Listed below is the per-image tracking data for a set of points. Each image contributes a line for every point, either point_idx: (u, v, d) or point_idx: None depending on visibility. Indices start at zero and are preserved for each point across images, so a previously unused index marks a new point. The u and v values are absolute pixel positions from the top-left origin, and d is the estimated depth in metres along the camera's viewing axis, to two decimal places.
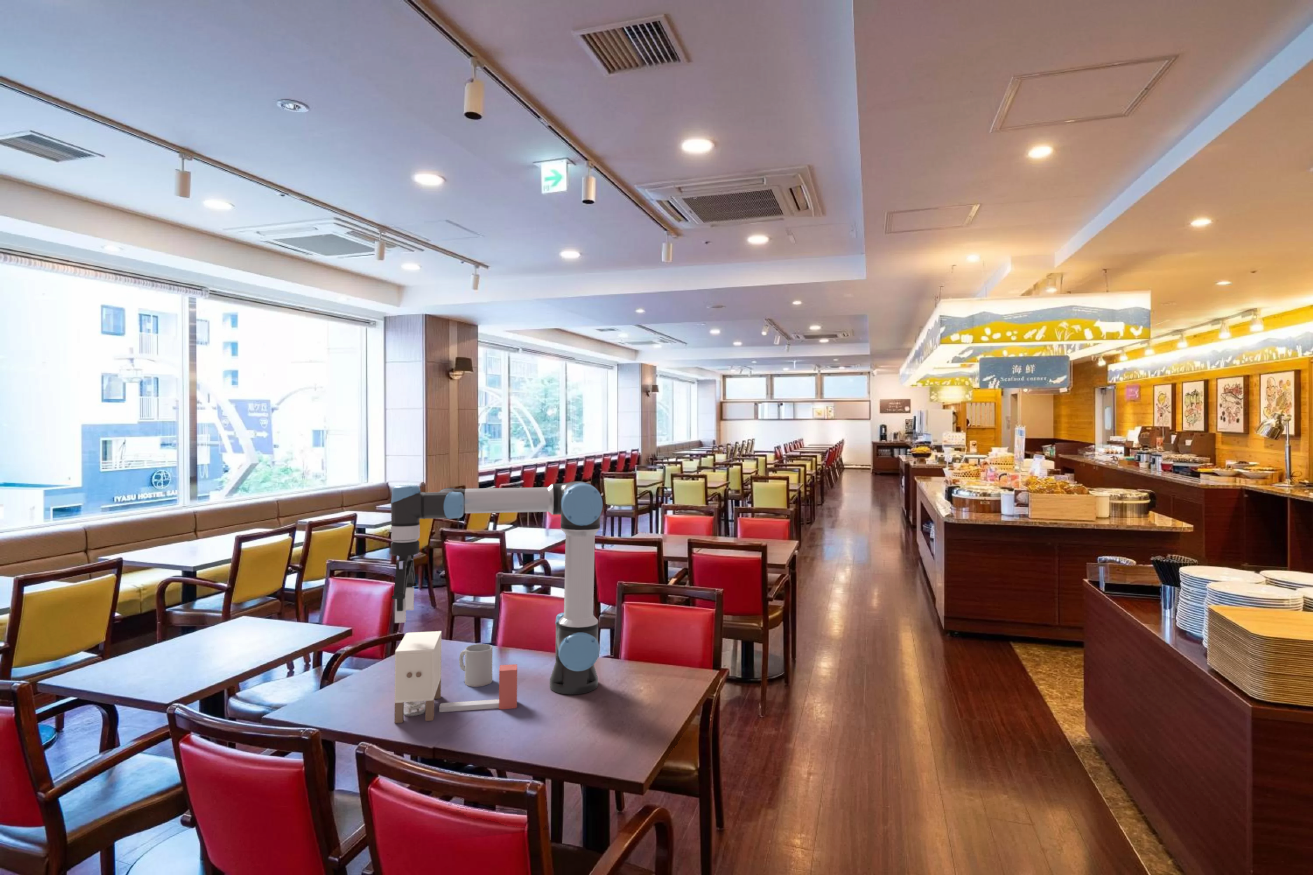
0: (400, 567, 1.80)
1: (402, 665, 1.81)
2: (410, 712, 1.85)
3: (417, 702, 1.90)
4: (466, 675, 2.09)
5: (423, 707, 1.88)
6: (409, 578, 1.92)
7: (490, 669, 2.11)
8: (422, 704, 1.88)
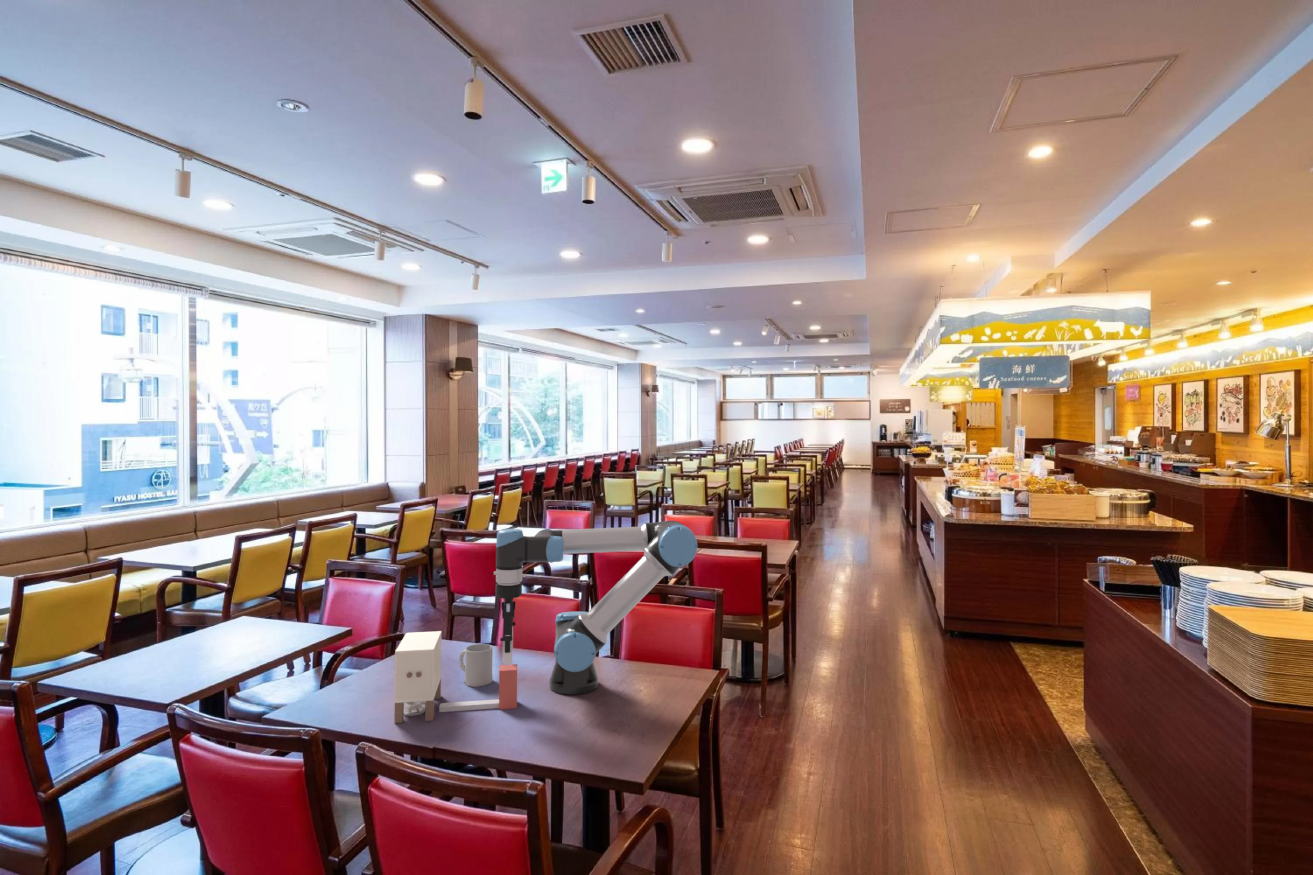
0: (507, 610, 1.87)
1: (402, 665, 1.81)
2: (410, 712, 1.85)
3: (417, 702, 1.90)
4: (466, 675, 2.09)
5: (423, 707, 1.88)
6: None
7: (490, 669, 2.11)
8: (422, 704, 1.88)
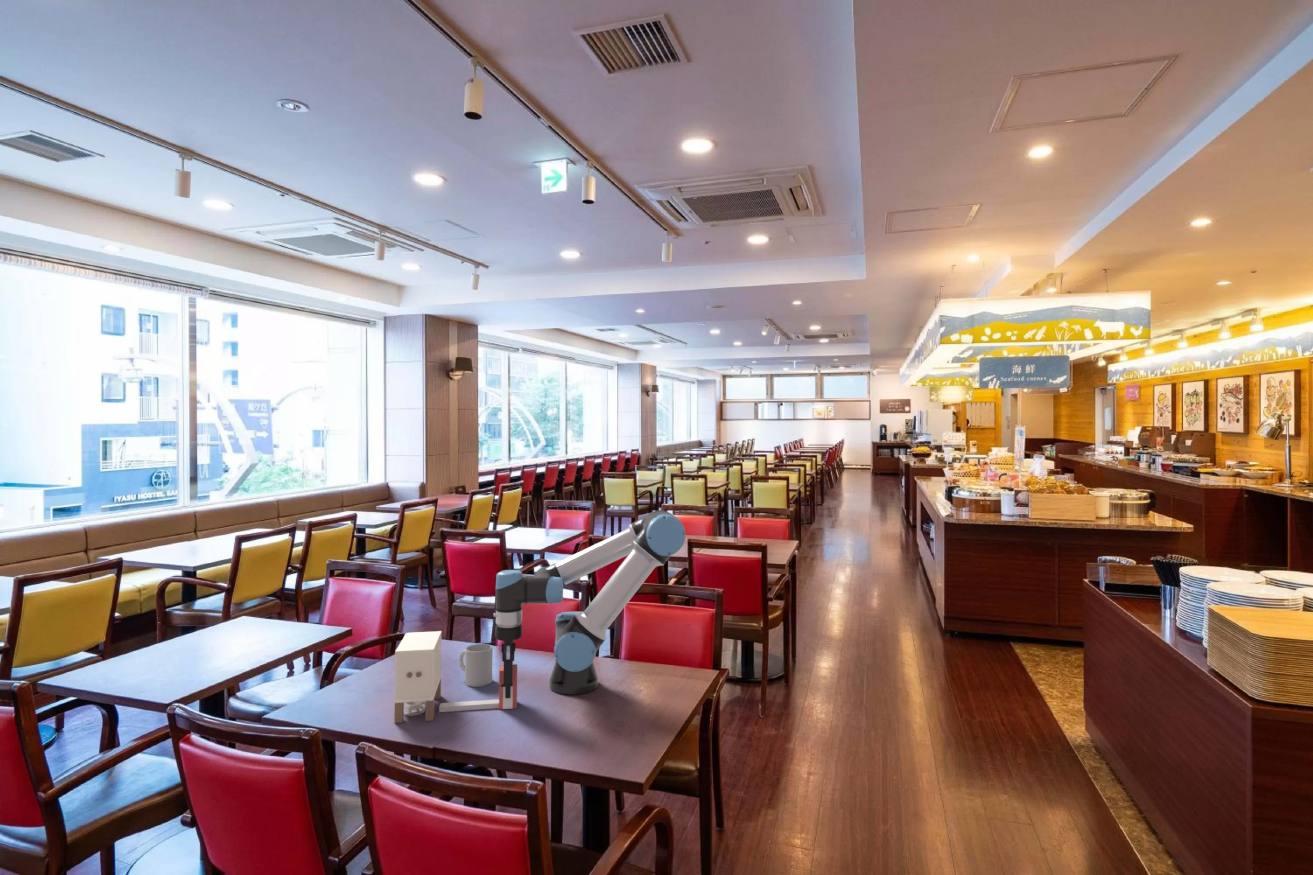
0: (507, 658, 1.88)
1: (402, 665, 1.81)
2: (410, 712, 1.85)
3: (417, 702, 1.90)
4: (466, 675, 2.09)
5: (423, 707, 1.88)
6: None
7: (490, 669, 2.11)
8: (422, 704, 1.88)
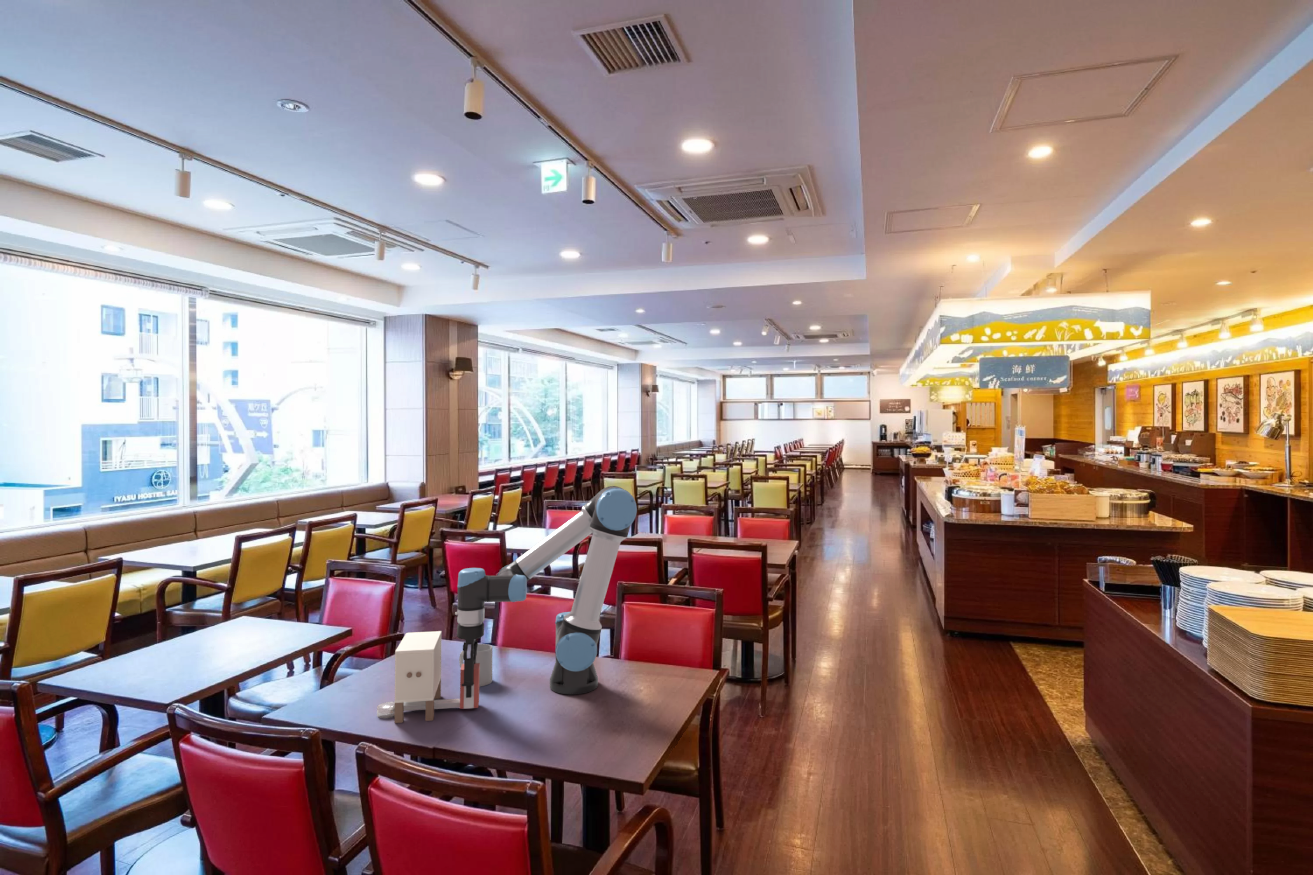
0: (468, 657, 1.85)
1: (402, 665, 1.81)
2: (384, 714, 1.84)
3: (392, 703, 1.88)
4: None
5: None
6: None
7: (490, 669, 2.11)
8: None
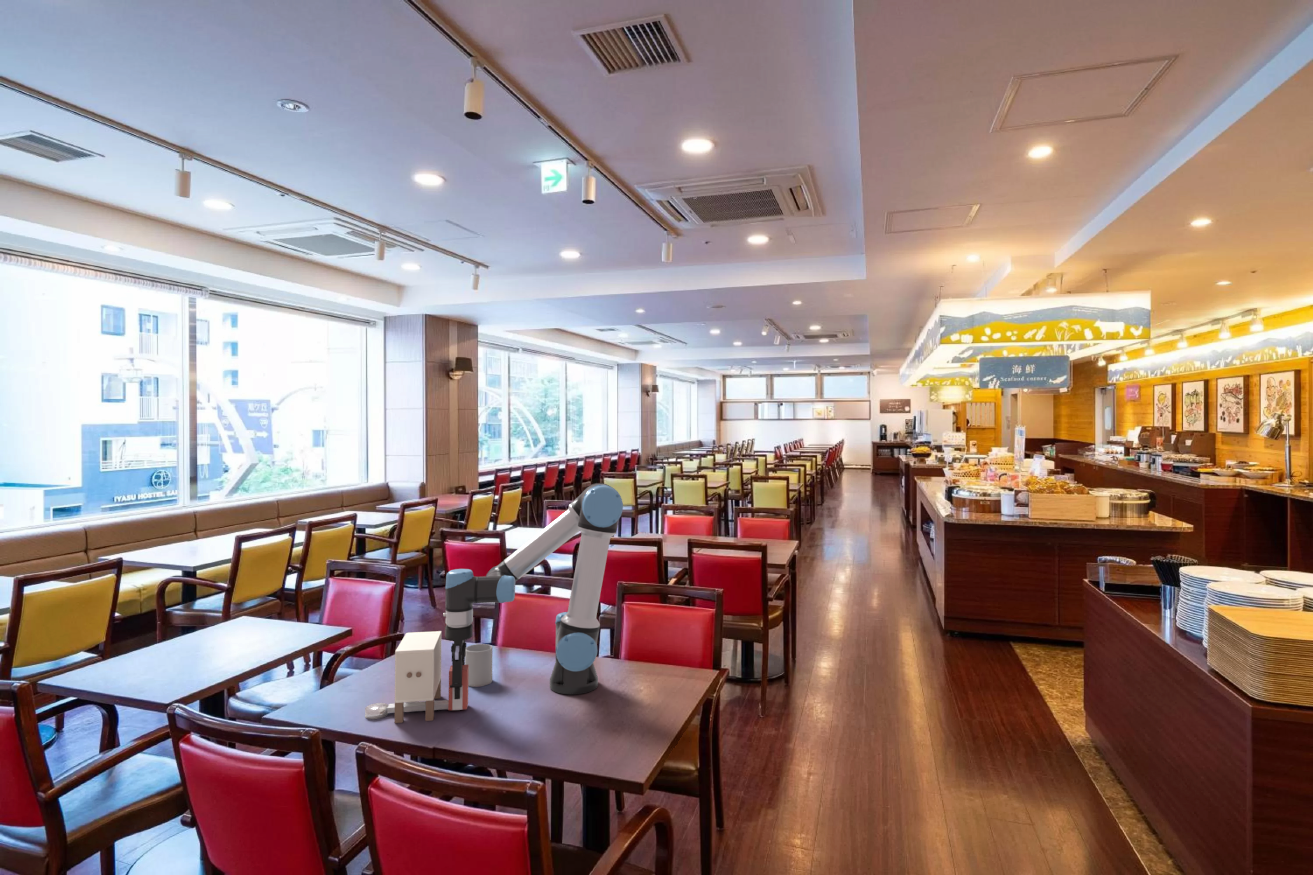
0: (456, 658, 1.85)
1: (402, 665, 1.81)
2: (373, 715, 1.83)
3: (380, 705, 1.88)
4: None
5: (386, 710, 1.86)
6: None
7: (490, 669, 2.11)
8: (384, 707, 1.86)
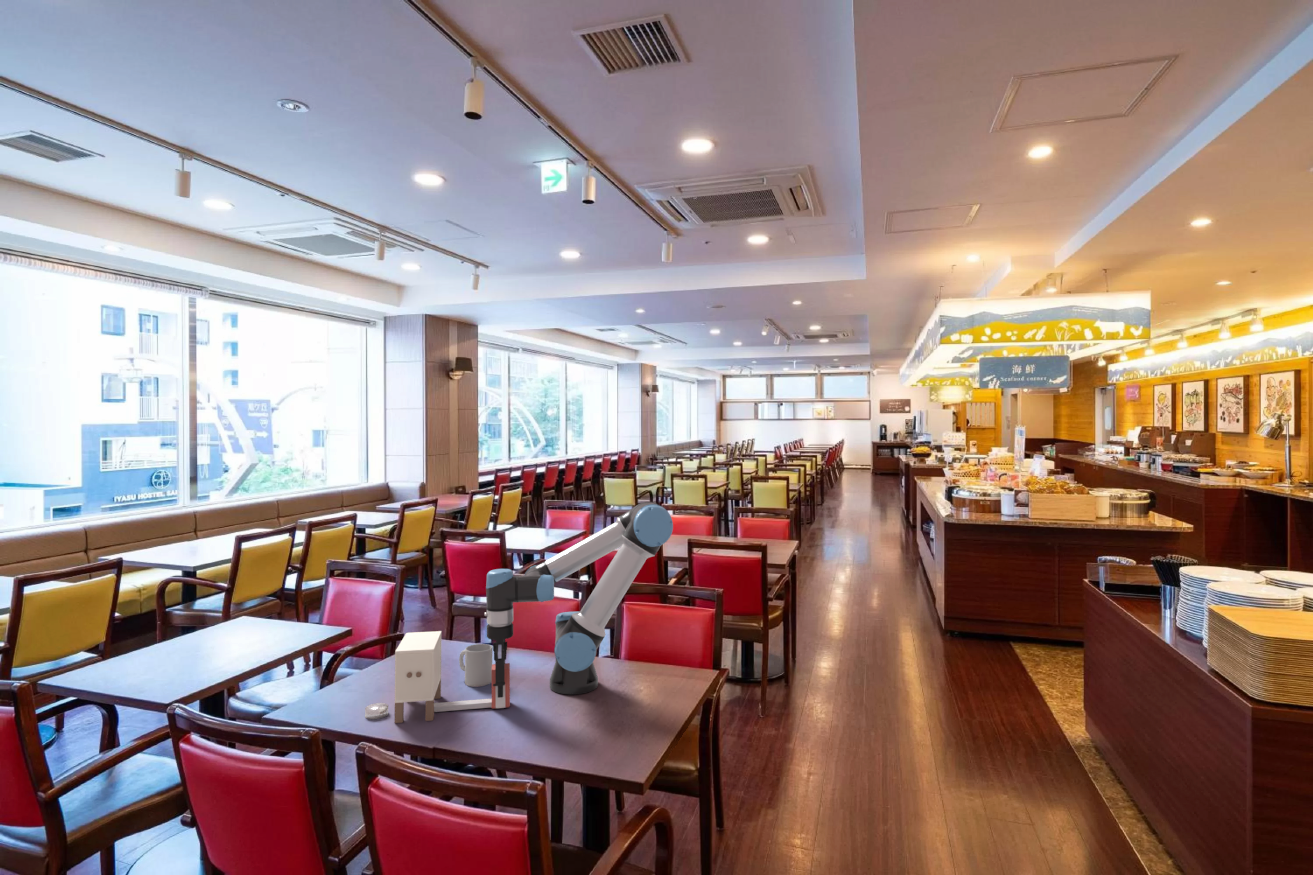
0: (499, 657, 1.87)
1: (402, 665, 1.81)
2: (373, 715, 1.83)
3: (380, 705, 1.88)
4: (466, 675, 2.09)
5: (386, 710, 1.86)
6: None
7: (490, 669, 2.11)
8: (384, 707, 1.86)
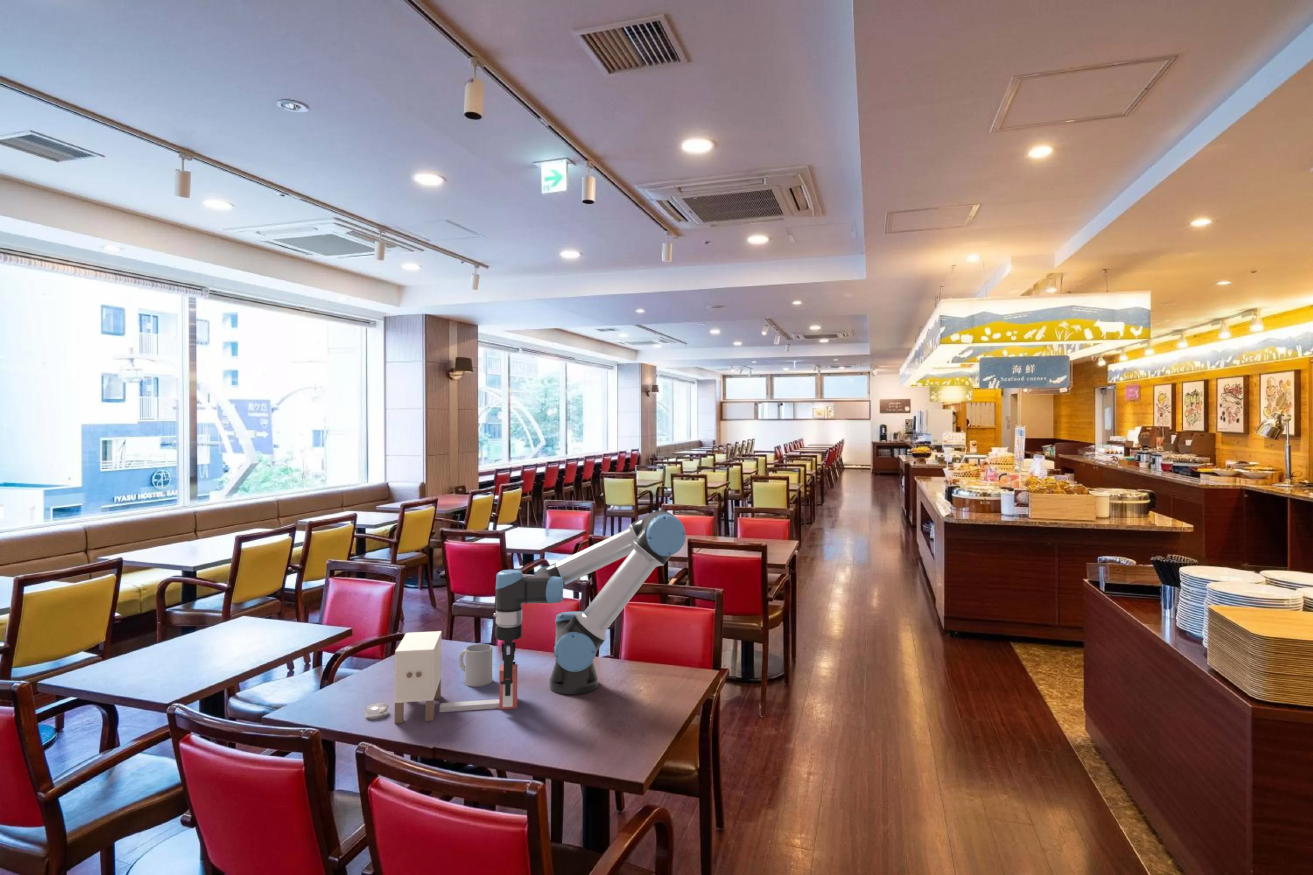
0: (507, 653, 1.87)
1: (402, 665, 1.81)
2: (373, 715, 1.83)
3: (380, 705, 1.88)
4: (466, 675, 2.09)
5: (386, 710, 1.86)
6: None
7: (490, 669, 2.11)
8: (384, 707, 1.86)
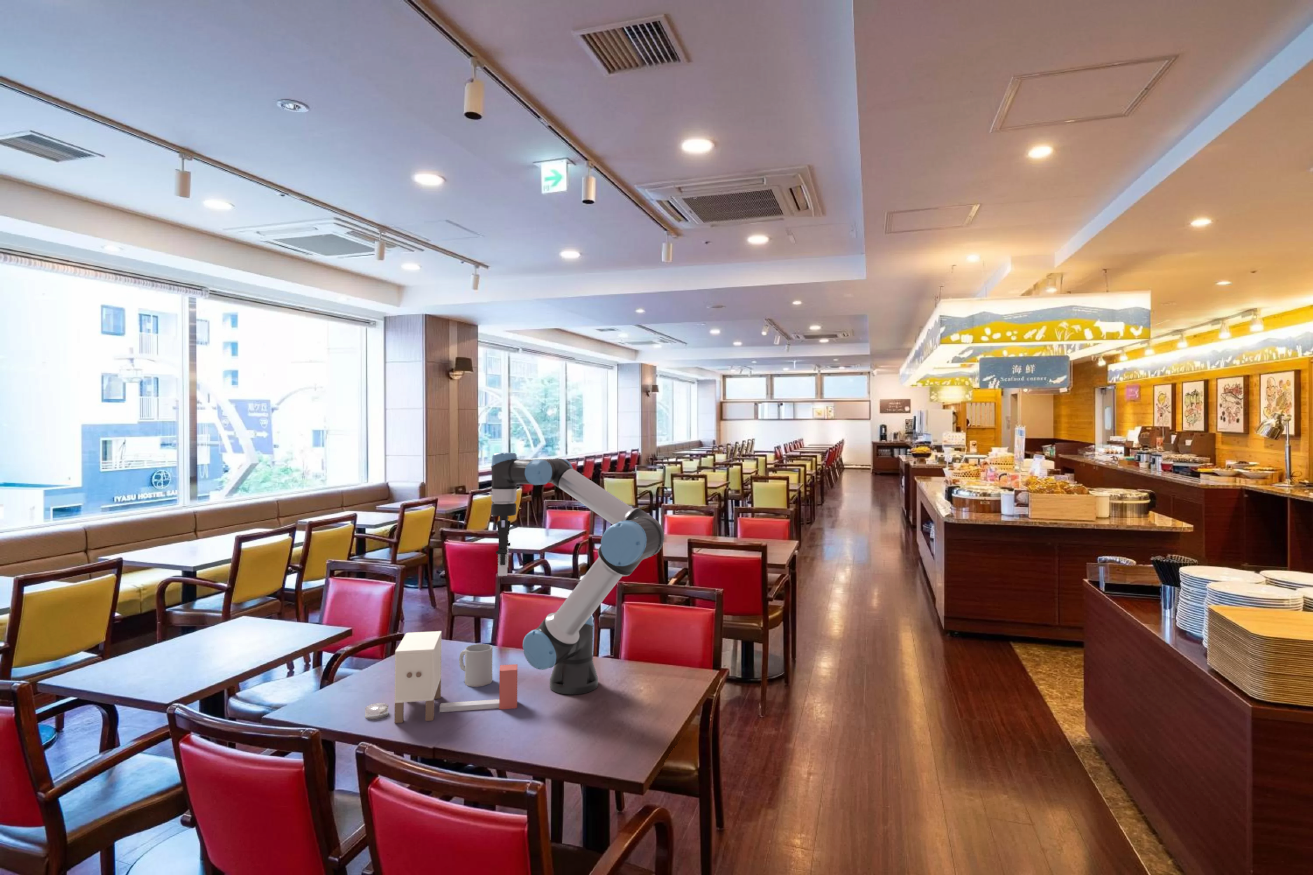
0: (502, 525, 1.99)
1: (402, 665, 1.81)
2: (373, 715, 1.83)
3: (380, 705, 1.88)
4: (466, 675, 2.09)
5: (386, 710, 1.86)
6: None
7: (490, 669, 2.11)
8: (384, 707, 1.86)
